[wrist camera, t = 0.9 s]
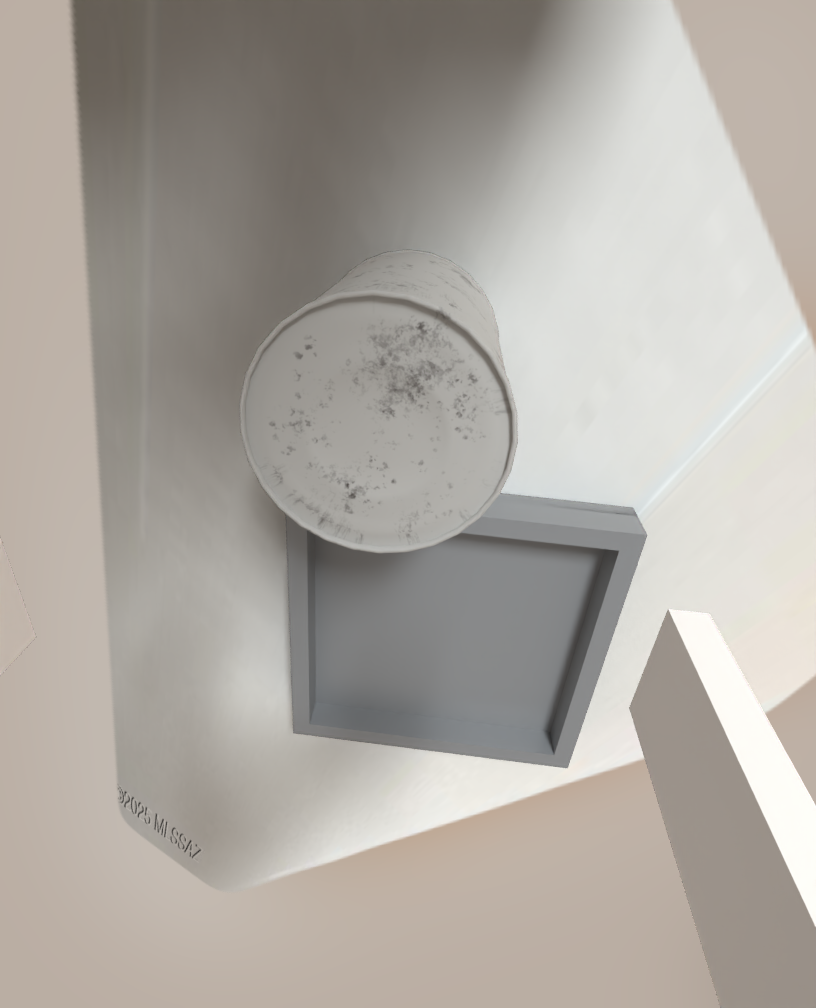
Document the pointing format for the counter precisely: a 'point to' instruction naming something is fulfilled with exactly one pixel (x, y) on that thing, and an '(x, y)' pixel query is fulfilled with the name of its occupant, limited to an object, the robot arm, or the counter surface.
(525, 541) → the tray
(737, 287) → the counter surface
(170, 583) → the counter surface
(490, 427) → the speckled white tin can
